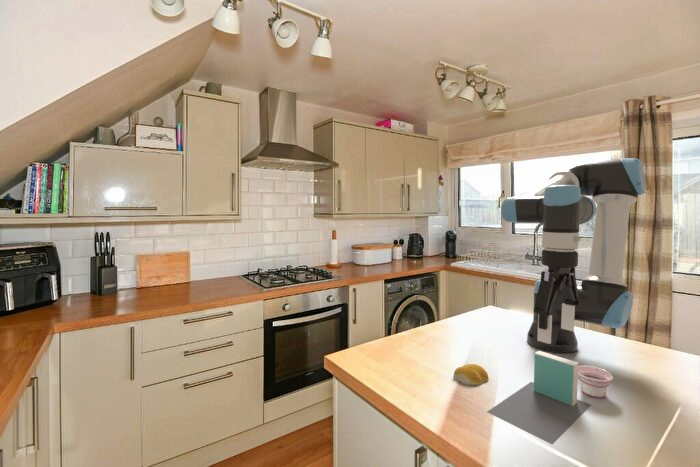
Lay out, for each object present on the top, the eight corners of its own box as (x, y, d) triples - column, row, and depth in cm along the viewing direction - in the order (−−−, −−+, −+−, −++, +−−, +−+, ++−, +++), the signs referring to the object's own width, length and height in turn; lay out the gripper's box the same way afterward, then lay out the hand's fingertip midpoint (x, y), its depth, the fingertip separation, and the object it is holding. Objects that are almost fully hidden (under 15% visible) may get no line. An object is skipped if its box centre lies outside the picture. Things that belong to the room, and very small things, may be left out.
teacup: (625, 415, 79) (627, 389, 78) (564, 400, 85) (565, 376, 84) (618, 391, 89) (619, 368, 88) (563, 379, 95) (564, 358, 95)
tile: (533, 391, 88) (534, 353, 87) (537, 387, 90) (539, 350, 89) (572, 406, 81) (574, 365, 80) (576, 402, 82) (578, 362, 82)
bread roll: (493, 381, 95) (494, 367, 94) (473, 390, 90) (473, 376, 90) (468, 369, 102) (468, 356, 101) (448, 377, 97) (448, 364, 96)
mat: (487, 414, 79) (487, 411, 79) (531, 383, 93) (531, 381, 93) (552, 446, 68) (552, 444, 68) (591, 407, 82) (591, 404, 82)
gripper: (554, 255, 72) (550, 353, 73) (595, 247, 87) (592, 328, 89) (519, 252, 78) (516, 342, 79) (563, 245, 93) (560, 321, 95)
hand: (556, 335), depth 84 cm, fingers open, 13 cm apart
